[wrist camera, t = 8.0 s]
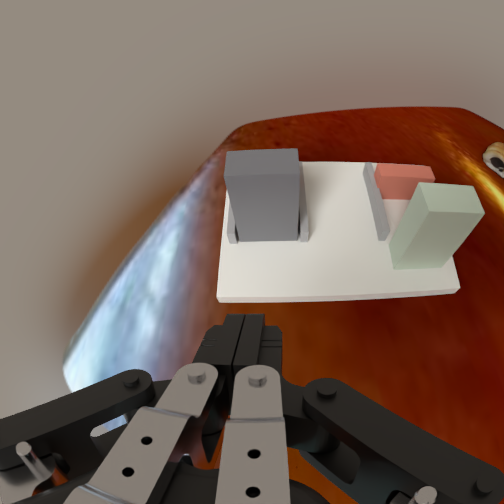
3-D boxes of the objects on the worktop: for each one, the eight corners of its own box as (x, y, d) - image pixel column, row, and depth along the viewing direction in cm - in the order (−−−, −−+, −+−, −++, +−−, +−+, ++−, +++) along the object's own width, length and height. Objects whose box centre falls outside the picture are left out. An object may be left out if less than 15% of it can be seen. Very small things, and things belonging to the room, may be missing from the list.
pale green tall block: (435, 243, 30) (472, 186, 21) (441, 267, 29) (484, 213, 20) (388, 244, 31) (418, 182, 22) (393, 269, 29) (429, 211, 20)
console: (417, 173, 37) (428, 144, 33) (454, 293, 28) (477, 271, 24) (231, 172, 40) (224, 141, 35) (219, 302, 31) (207, 280, 26)
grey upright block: (295, 217, 33) (297, 148, 25) (297, 240, 32) (299, 173, 23) (241, 218, 34) (227, 151, 25) (240, 241, 33) (223, 176, 24)
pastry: (493, 143, 40) (501, 129, 37) (519, 166, 37) (528, 152, 34) (478, 160, 38) (487, 144, 35) (507, 187, 35) (517, 171, 32)
